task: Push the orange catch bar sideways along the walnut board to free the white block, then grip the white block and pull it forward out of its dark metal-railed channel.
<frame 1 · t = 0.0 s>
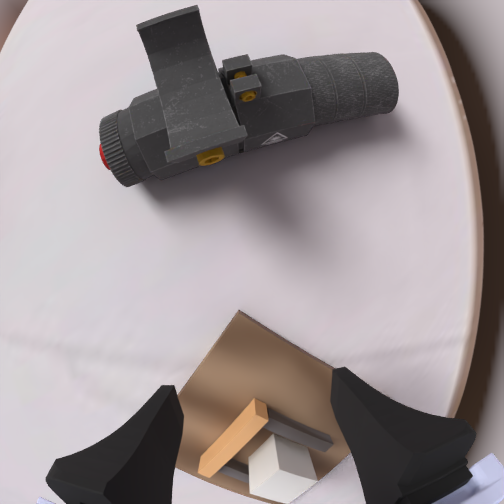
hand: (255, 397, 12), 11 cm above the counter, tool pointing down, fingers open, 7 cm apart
white block: (277, 452, 22), point 1 cm above the counter, touching base board
catch bar: (230, 441, 20), point 2 cm above the counter, slide at 0.0 cm
laser sight: (248, 121, 22), on the counter
base board: (266, 433, 23), on the counter
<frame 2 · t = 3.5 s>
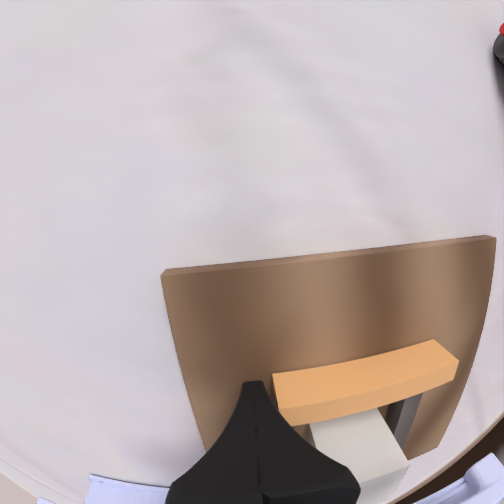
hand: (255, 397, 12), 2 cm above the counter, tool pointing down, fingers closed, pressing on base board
white block: (339, 434, 14), point 1 cm above the counter, touching base board
catch bar: (371, 381, 11), point 2 cm above the counter, slide at 0.7 cm, touching gripper
base board: (353, 398, 14), on the counter
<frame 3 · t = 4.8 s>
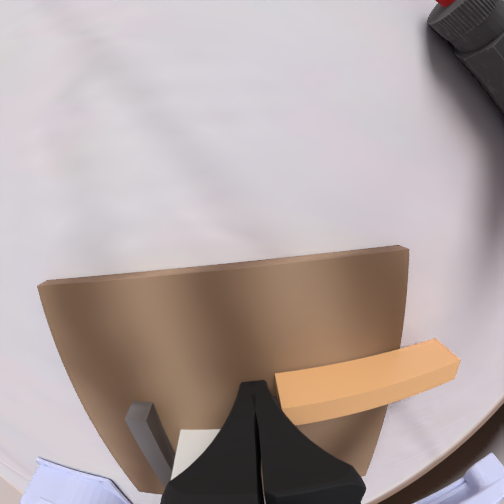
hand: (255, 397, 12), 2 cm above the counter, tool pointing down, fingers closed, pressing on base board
white block: (221, 449, 14), point 1 cm above the counter, touching base board
catch bar: (373, 381, 11), point 2 cm above the counter, slide at 7.9 cm, touching gripper
base board: (234, 416, 14), on the counter
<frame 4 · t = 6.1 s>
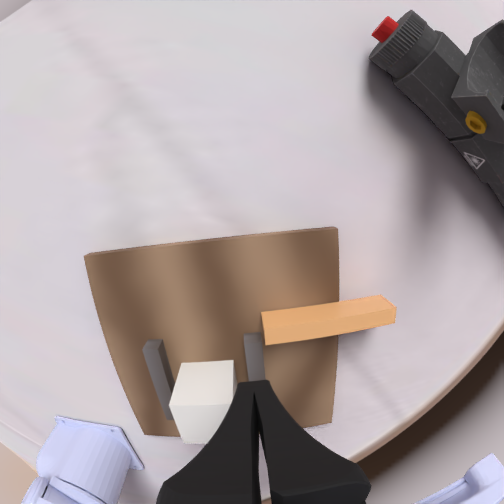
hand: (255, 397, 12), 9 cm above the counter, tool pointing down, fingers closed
white block: (211, 381, 20), point 1 cm above the counter, touching base board
catch bar: (329, 318, 18), point 2 cm above the counter, slide at 8.9 cm
laser sight: (456, 130, 18), on the counter
base board: (220, 353, 21), on the counter
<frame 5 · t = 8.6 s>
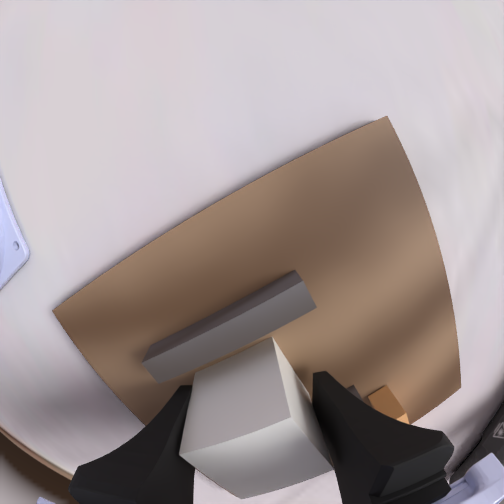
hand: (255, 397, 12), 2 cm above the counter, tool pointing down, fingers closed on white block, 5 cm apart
white block: (254, 385, 12), point 1 cm above the counter, touching base board, gripper
catch bar: (399, 440, 13), point 2 cm above the counter, slide at 8.9 cm
laser sight: (503, 404, 17), on the counter
base board: (297, 369, 13), on the counter
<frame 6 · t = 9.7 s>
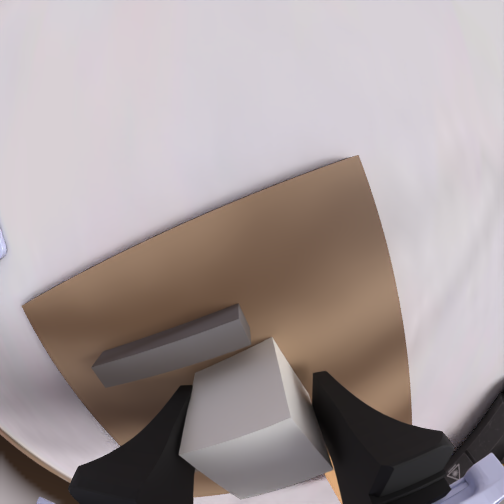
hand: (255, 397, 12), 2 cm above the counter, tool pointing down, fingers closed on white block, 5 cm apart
white block: (253, 385, 12), point 1 cm above the counter, touching gripper
catch bar: (338, 472, 13), point 2 cm above the counter, slide at 8.9 cm
laser sight: (462, 445, 18), on the counter
base board: (239, 392, 14), on the counter
when the fingers open (2 cm above the counter, at t = 11.2 s): white block stays where it is, resting on base board.
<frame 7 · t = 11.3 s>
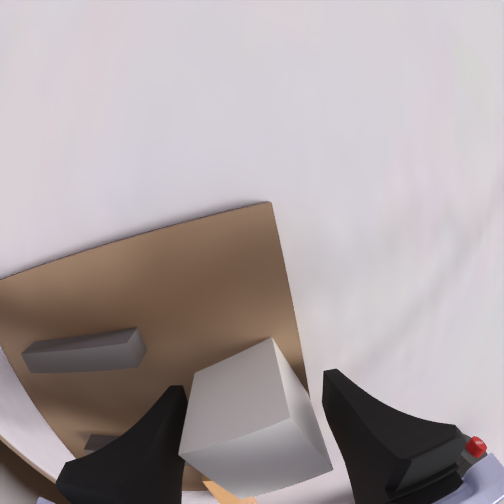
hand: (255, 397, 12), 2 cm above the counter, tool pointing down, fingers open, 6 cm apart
white block: (253, 385, 12), point 1 cm above the counter, touching base board
catch bar: (235, 496, 13), point 2 cm above the counter, slide at 8.9 cm
laser sight: (391, 492, 19), on the counter
base board: (145, 402, 14), on the counter
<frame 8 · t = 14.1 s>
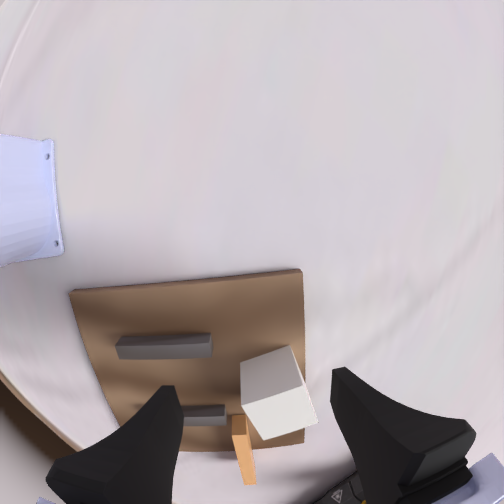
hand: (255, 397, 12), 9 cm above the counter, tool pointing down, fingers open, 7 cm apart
white block: (273, 372, 21), point 1 cm above the counter, touching base board
catch bar: (244, 453, 21), point 2 cm above the counter, slide at 8.9 cm
laser sight: (352, 478, 28), on the counter
base board: (196, 381, 22), on the counter
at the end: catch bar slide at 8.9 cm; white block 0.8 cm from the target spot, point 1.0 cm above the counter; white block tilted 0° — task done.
